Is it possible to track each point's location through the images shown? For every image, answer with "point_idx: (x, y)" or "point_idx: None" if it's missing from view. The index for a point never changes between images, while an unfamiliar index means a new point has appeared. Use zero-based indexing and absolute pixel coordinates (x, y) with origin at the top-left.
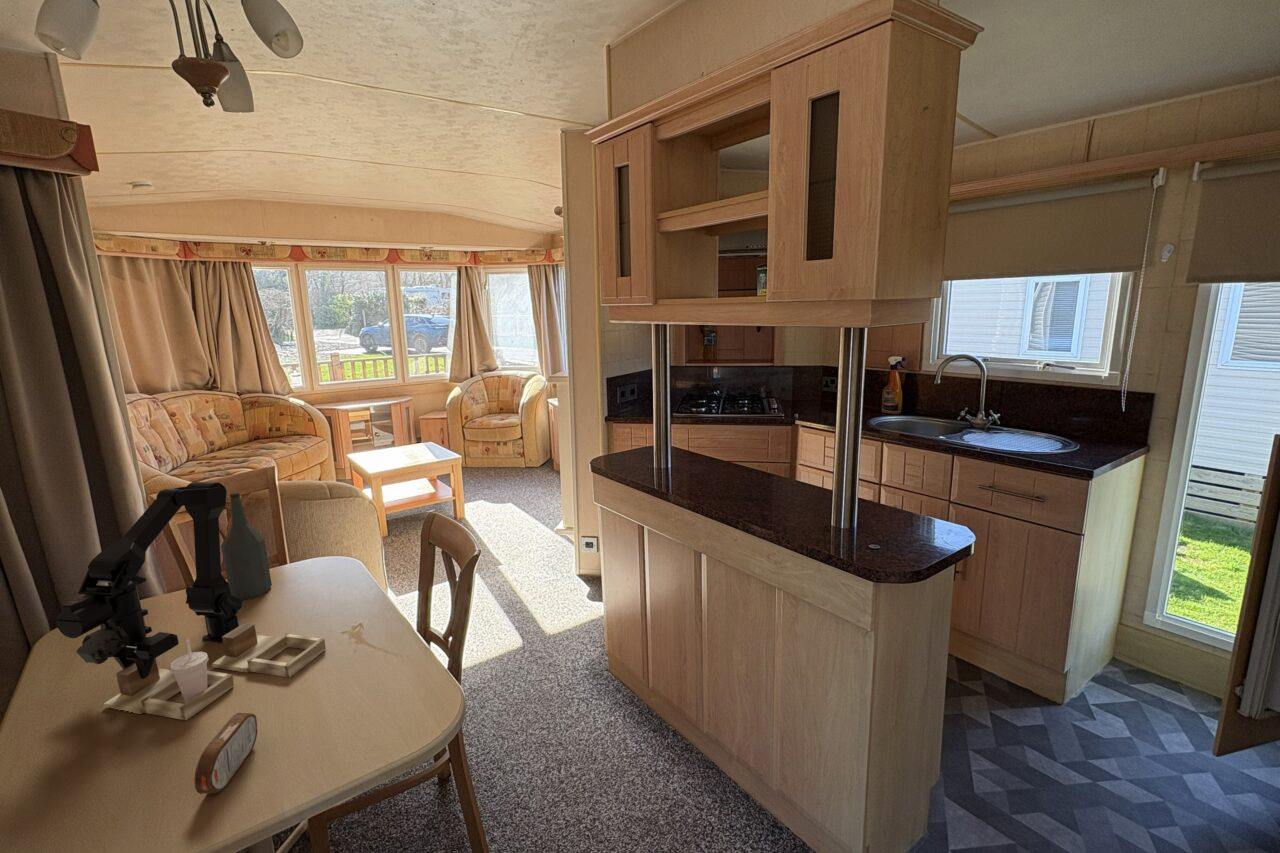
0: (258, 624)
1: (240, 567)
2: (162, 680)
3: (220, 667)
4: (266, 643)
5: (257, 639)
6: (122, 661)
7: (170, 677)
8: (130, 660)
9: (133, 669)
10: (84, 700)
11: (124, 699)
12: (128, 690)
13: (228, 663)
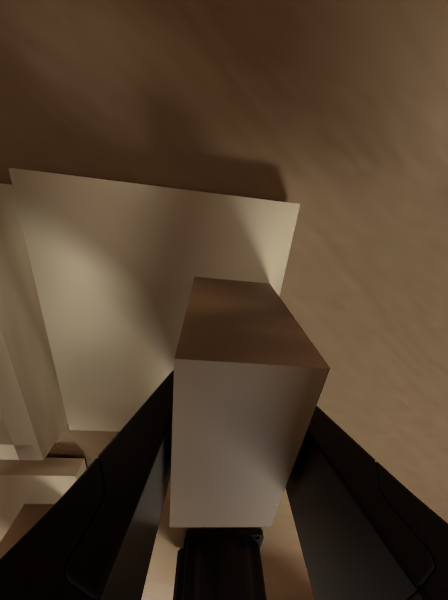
0: (166, 572)
1: None
2: None
3: (45, 461)
4: None
5: None
6: (363, 521)
7: None
8: (316, 514)
9: (207, 430)
10: (437, 249)
11: (209, 249)
12: (209, 290)
13: (11, 482)
